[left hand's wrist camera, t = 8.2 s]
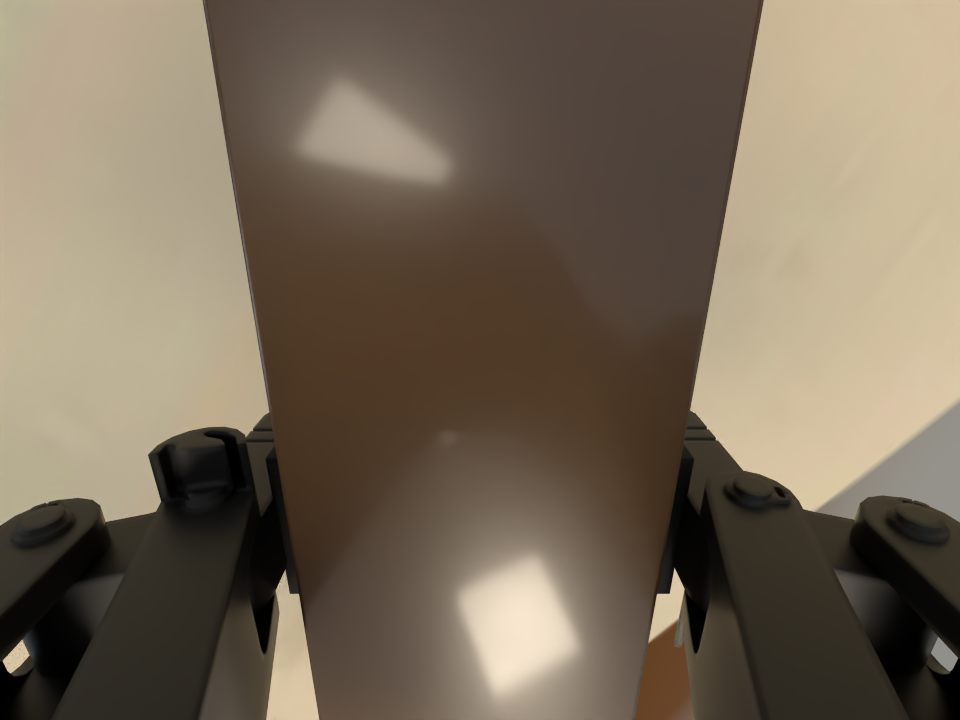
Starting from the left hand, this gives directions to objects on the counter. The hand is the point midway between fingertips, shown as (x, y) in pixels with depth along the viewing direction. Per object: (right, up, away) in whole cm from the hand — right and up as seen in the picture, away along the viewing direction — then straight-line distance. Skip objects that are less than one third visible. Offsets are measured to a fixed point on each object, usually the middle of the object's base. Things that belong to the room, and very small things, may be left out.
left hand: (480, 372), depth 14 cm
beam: (0, +33, -12) cm, 35 cm away
